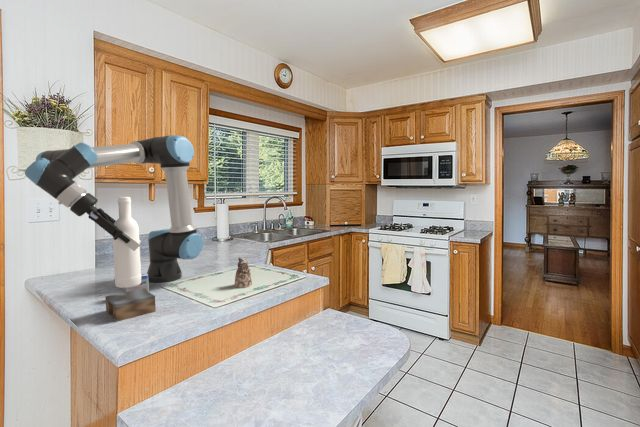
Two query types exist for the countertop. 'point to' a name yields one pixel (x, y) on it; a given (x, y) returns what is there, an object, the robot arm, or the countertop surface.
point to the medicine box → (143, 284)
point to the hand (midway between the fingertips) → (137, 246)
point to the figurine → (243, 274)
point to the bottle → (126, 248)
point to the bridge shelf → (130, 304)
